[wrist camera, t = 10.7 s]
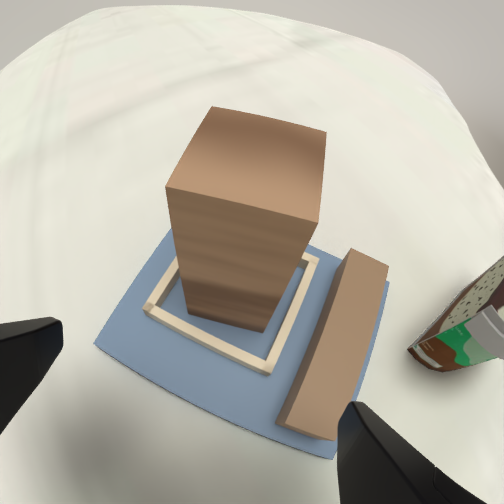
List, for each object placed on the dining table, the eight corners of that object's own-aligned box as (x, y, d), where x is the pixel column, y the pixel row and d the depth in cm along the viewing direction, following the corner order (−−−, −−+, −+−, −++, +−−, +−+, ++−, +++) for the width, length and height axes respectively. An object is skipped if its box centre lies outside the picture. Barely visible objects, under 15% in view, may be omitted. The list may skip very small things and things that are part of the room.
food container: (434, 418, 18) (534, 393, 10) (395, 360, 21) (487, 310, 12) (498, 329, 23) (571, 283, 14) (467, 283, 25) (534, 225, 17)
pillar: (263, 333, 20) (318, 223, 10) (188, 314, 20) (165, 186, 10) (276, 267, 22) (326, 132, 12) (209, 250, 23) (211, 106, 12)
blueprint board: (327, 458, 17) (351, 464, 13) (98, 347, 19) (75, 330, 15) (383, 287, 24) (408, 263, 20) (196, 203, 26) (194, 169, 23)
